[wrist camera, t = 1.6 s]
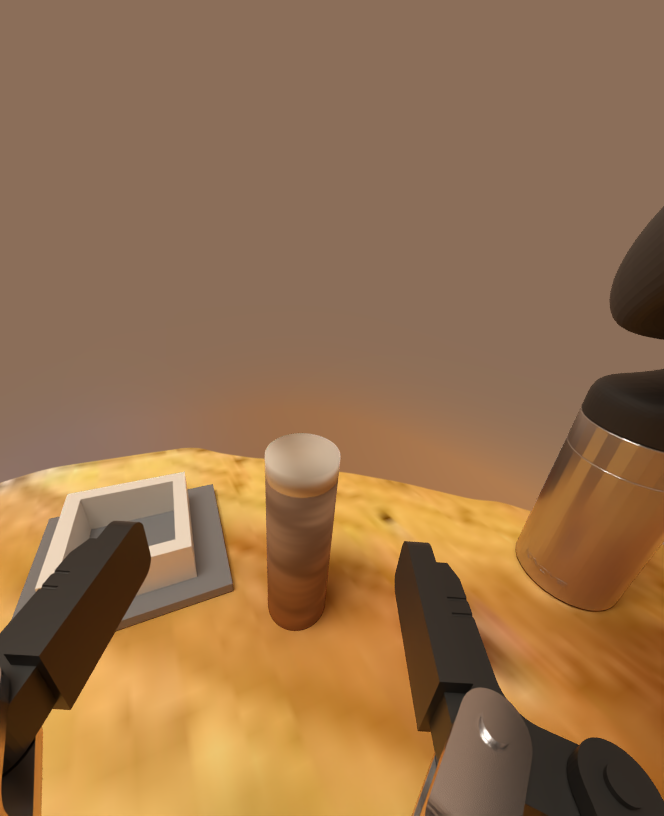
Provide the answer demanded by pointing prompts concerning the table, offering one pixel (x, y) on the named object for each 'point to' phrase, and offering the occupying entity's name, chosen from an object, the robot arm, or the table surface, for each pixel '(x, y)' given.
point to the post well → (166, 535)
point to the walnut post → (299, 526)
